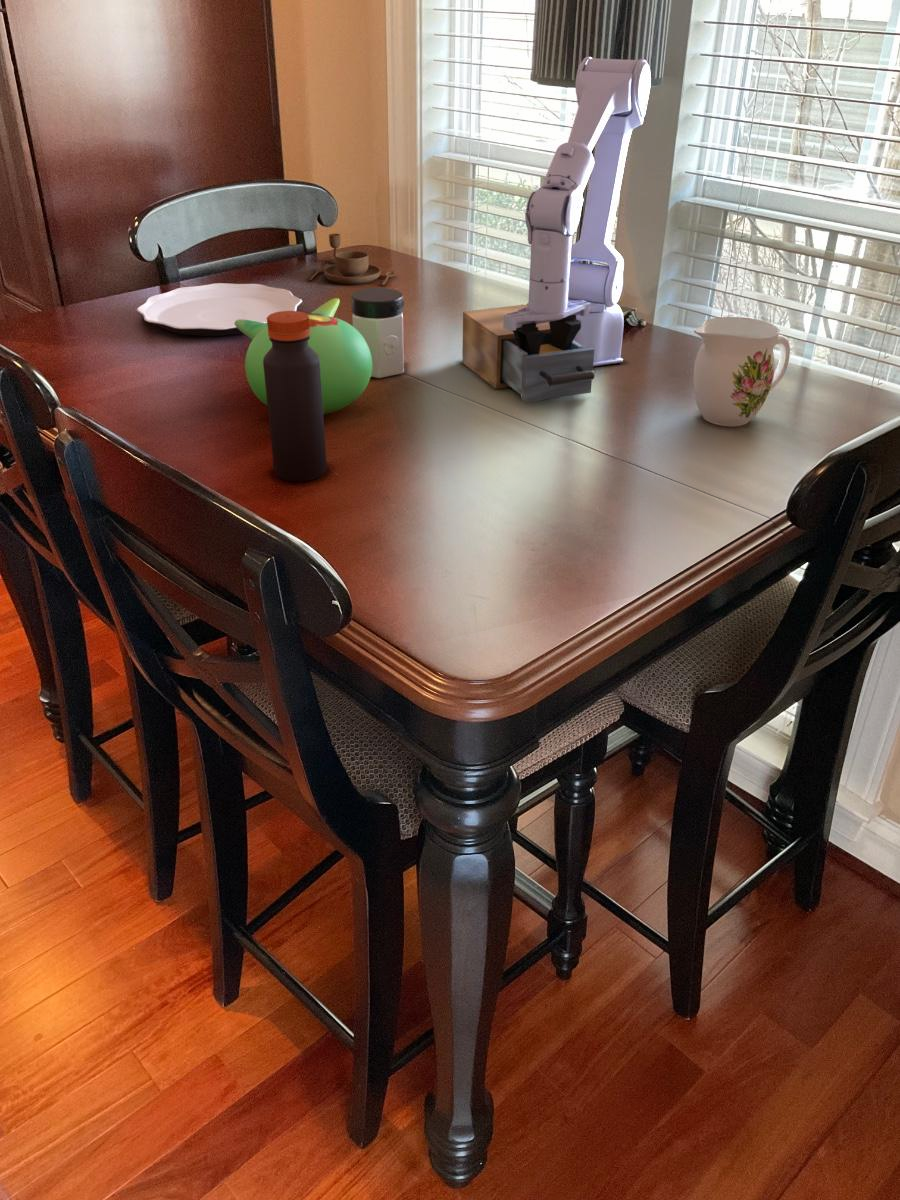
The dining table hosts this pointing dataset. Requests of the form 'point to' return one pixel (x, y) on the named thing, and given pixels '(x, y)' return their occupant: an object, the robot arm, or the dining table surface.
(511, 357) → the grey wooden drawer
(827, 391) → the dining table surface
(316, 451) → the bottle
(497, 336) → the wooden drawer box
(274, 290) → the plate
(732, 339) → the pitcher
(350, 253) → the place setting
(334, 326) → the toy bird
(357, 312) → the jar
